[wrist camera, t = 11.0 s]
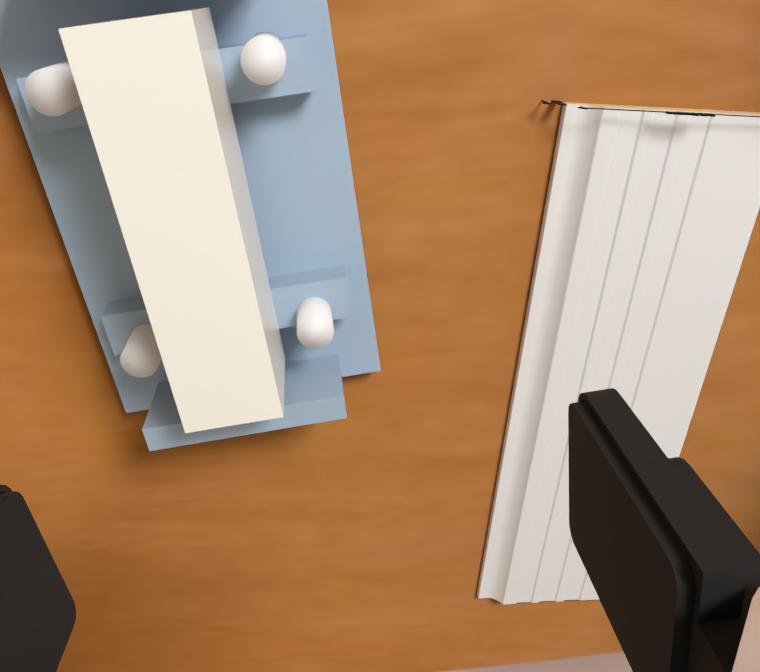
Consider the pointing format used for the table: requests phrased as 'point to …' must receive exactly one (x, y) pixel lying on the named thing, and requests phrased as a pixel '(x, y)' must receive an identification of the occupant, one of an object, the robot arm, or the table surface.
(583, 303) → the grooved white panel
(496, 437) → the table surface
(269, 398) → the clay bar
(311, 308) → the rack
